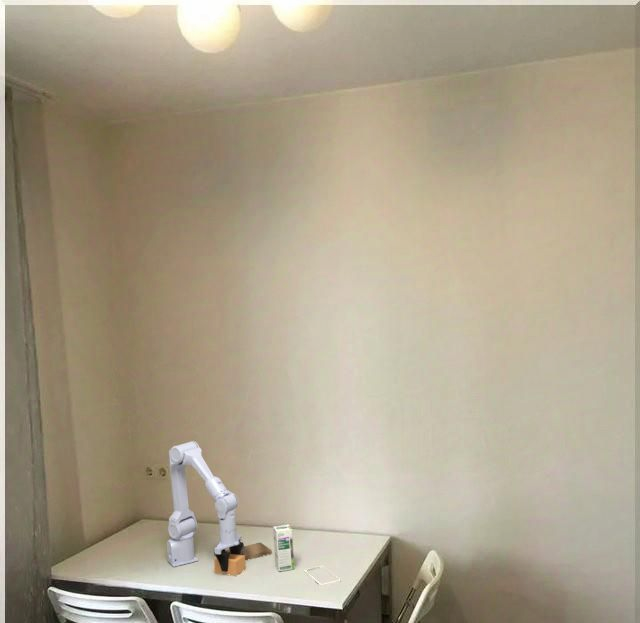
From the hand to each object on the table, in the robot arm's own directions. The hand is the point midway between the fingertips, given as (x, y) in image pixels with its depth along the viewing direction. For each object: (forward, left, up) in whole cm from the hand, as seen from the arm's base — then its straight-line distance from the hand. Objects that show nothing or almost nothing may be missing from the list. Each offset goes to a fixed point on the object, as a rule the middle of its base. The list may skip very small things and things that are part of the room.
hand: (230, 567), depth 243 cm
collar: (0, 0, -1) cm, 1 cm away
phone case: (+24, -24, -2) cm, 34 cm away
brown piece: (+10, +11, -1) cm, 15 cm away
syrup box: (+17, -9, -2) cm, 19 cm away
